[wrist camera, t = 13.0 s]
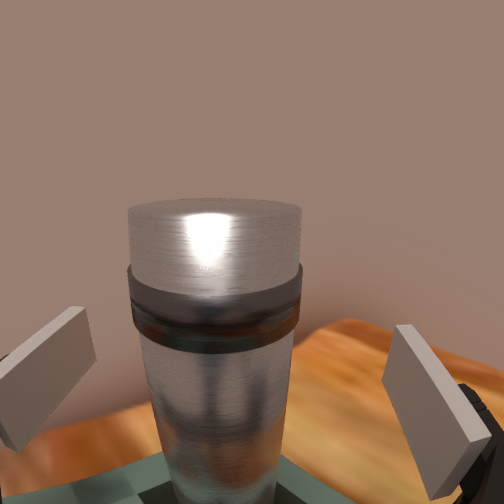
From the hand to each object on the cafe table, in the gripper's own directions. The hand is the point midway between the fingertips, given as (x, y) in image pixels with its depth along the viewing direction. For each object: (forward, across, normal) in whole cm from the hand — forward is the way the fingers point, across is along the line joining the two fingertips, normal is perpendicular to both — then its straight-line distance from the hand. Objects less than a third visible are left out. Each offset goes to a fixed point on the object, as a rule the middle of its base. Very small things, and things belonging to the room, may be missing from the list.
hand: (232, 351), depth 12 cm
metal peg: (-3, 0, -10) cm, 11 cm away
